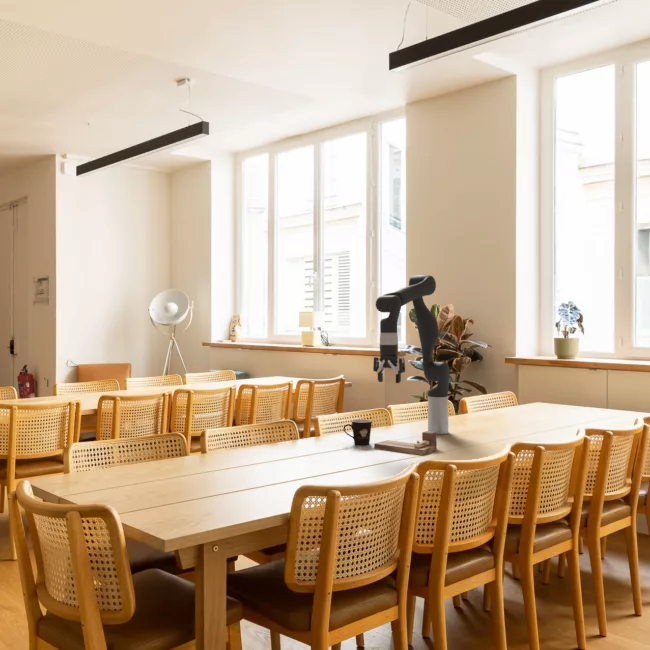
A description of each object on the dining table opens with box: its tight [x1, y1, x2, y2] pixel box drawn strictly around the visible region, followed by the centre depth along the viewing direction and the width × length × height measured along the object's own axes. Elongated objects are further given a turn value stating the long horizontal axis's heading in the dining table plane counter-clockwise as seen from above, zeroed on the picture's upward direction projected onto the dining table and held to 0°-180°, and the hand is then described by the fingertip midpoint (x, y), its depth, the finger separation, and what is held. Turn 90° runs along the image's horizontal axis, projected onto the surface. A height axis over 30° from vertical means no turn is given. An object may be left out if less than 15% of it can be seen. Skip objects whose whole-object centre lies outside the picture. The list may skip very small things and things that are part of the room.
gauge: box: [414, 430, 438, 450], centre depth 292 cm, size 12×4×7 cm, turn 142°
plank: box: [373, 439, 436, 456], centre depth 294 cm, size 10×23×2 cm, turn 52°
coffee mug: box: [343, 418, 373, 447], centre depth 307 cm, size 12×9×10 cm
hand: (389, 382), depth 297 cm, fingers open, 8 cm apart
